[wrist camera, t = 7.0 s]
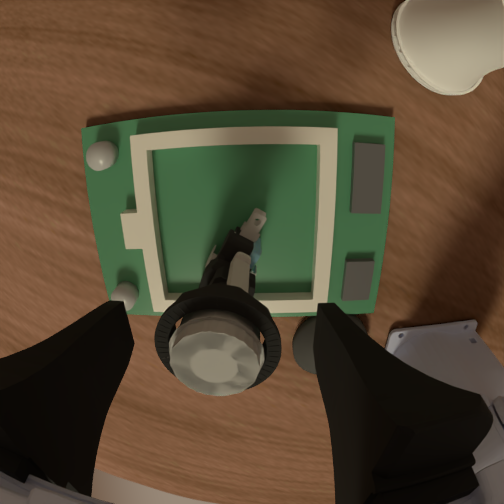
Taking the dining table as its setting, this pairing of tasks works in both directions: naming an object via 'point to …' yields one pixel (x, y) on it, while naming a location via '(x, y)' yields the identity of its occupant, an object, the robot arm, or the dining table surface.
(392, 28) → the cooling tower
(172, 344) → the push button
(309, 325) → the dark gray round disc
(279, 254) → the circuit board
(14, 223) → the dining table surface
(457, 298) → the dining table surface
